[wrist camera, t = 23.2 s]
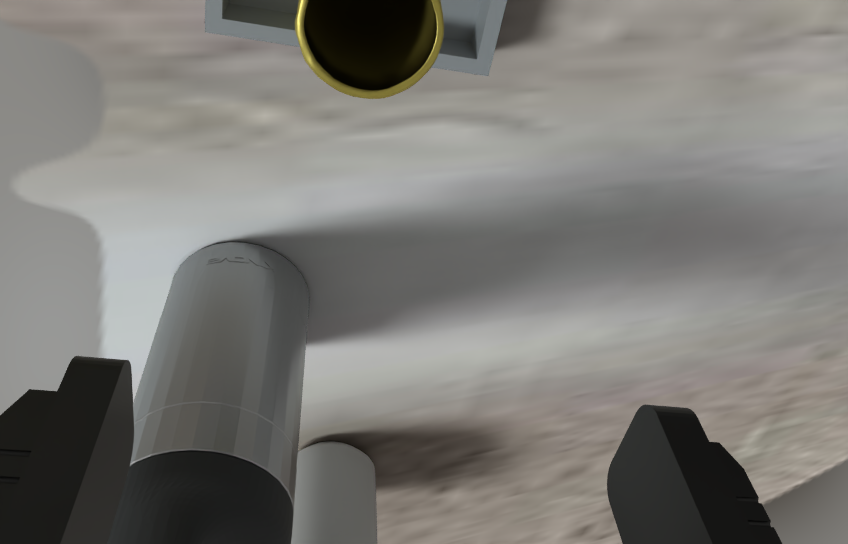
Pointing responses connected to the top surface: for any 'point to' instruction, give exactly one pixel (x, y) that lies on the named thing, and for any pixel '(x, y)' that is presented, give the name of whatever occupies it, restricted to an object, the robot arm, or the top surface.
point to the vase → (370, 43)
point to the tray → (275, 22)
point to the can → (334, 496)
